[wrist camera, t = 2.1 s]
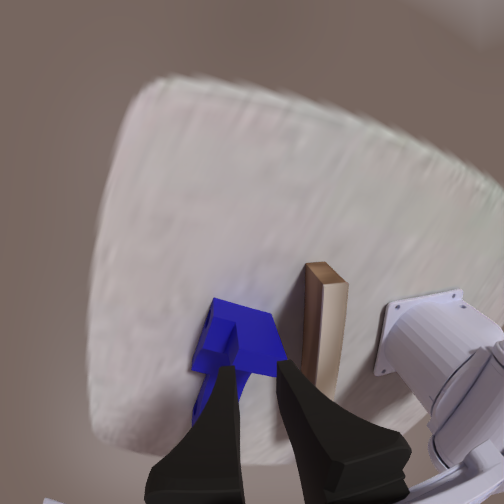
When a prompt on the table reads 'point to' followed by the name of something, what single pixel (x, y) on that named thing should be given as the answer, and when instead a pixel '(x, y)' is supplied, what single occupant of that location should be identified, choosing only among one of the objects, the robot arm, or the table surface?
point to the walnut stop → (323, 326)
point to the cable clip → (235, 347)
